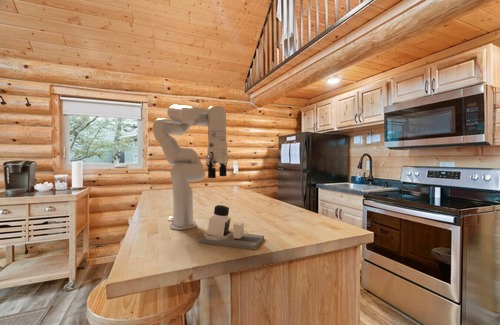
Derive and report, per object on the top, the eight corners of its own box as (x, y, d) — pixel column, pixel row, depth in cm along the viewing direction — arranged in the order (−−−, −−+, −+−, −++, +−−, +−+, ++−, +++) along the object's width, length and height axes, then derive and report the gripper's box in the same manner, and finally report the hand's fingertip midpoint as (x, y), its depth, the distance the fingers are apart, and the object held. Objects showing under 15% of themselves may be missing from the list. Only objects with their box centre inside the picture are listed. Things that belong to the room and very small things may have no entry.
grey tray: (199, 242, 96) (199, 235, 96) (213, 233, 108) (213, 227, 108) (254, 249, 88) (254, 242, 88) (264, 239, 99) (264, 232, 99)
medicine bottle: (223, 238, 96) (227, 209, 95) (206, 234, 97) (211, 206, 97) (228, 233, 103) (232, 206, 102) (213, 229, 104) (217, 202, 104)
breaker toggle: (233, 237, 95) (233, 224, 95) (237, 234, 99) (237, 221, 99) (240, 238, 94) (239, 225, 94) (243, 235, 98) (243, 222, 98)
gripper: (215, 134, 90) (215, 179, 90) (233, 137, 106) (234, 175, 106) (198, 135, 92) (198, 178, 93) (218, 138, 109) (219, 175, 109)
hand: (217, 177), depth 100 cm, fingers open, 9 cm apart
